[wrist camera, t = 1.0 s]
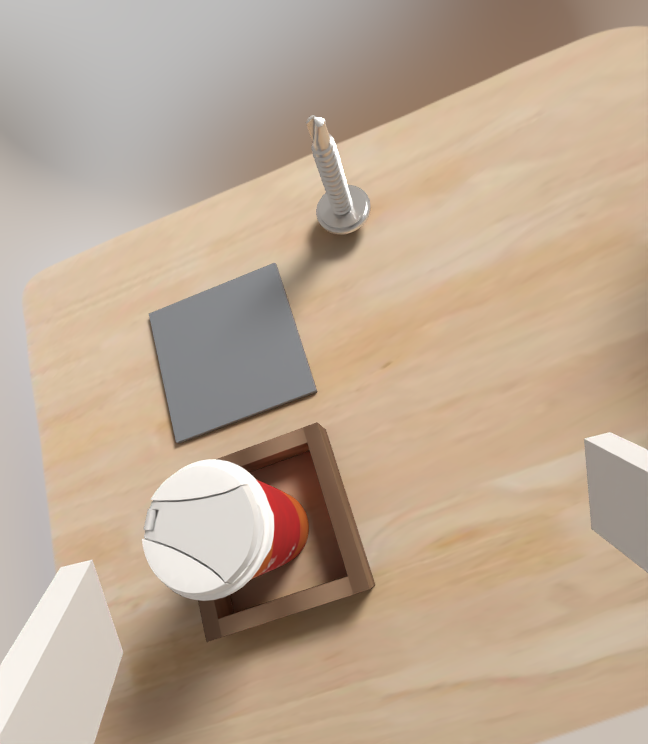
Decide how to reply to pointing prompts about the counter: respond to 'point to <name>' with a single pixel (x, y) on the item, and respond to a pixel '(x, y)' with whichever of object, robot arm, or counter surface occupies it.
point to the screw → (335, 185)
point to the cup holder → (359, 579)
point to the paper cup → (219, 529)
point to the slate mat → (230, 353)
